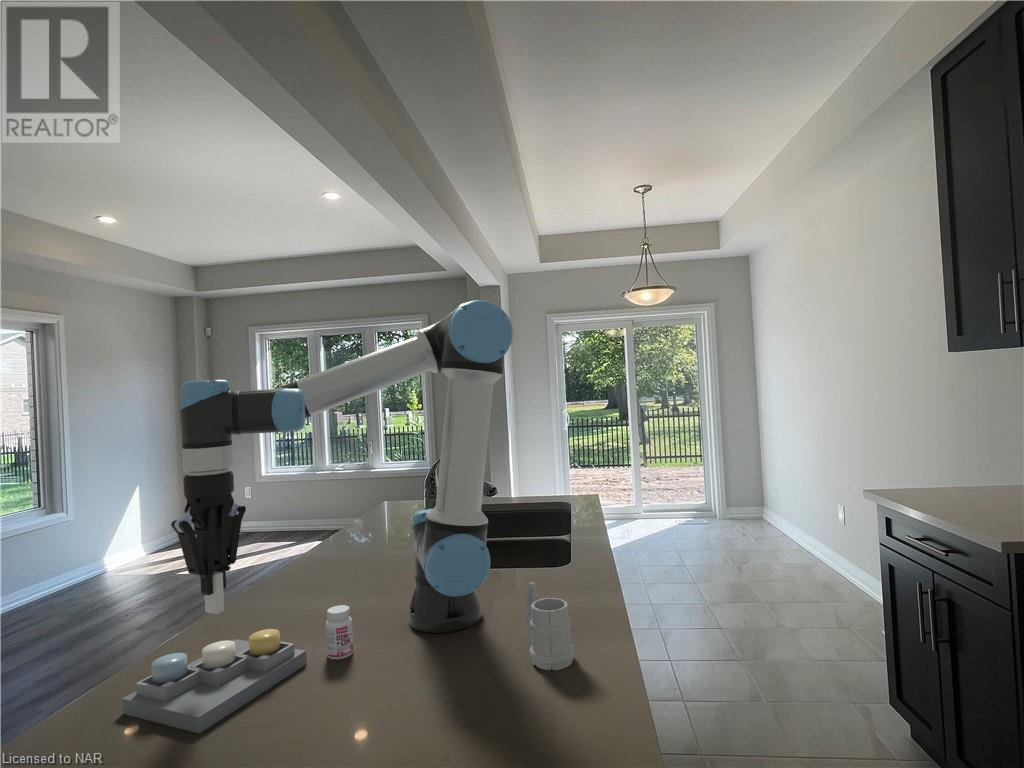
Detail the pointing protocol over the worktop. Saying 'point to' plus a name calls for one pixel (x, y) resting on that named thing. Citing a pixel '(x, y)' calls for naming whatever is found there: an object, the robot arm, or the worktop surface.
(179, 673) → the slate button
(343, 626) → the pill bottle
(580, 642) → the worktop surface
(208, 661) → the ivory button
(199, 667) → the panel
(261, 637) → the ochre button
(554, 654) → the mug
